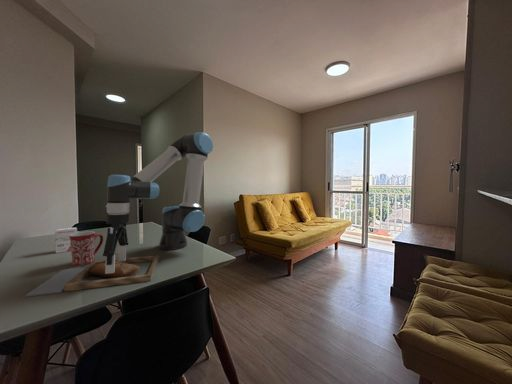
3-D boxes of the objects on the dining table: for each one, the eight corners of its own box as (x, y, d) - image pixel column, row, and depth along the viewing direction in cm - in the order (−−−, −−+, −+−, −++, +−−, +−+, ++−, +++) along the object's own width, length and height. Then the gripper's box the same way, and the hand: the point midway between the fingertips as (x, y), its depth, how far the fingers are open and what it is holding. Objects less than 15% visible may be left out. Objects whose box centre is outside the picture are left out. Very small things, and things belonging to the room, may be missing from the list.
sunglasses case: (142, 265, 82) (131, 260, 77) (133, 284, 78) (120, 279, 73) (108, 260, 87) (95, 255, 82) (97, 278, 83) (83, 273, 78)
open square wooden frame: (159, 259, 98) (159, 255, 98) (150, 280, 76) (150, 275, 76) (94, 265, 90) (94, 261, 90) (63, 291, 68) (63, 285, 68)
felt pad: (89, 268, 86) (89, 267, 86) (61, 292, 67) (61, 290, 67) (62, 271, 83) (62, 269, 83) (25, 296, 64) (25, 295, 64)
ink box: (77, 247, 114) (76, 226, 114) (77, 249, 111) (77, 228, 110) (55, 251, 108) (55, 229, 108) (55, 253, 105) (54, 230, 104)
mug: (75, 268, 86) (74, 236, 86) (65, 264, 91) (65, 234, 90) (108, 258, 98) (107, 231, 97) (98, 255, 102) (98, 229, 101)
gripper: (117, 210, 92) (116, 257, 92) (92, 217, 68) (90, 280, 68) (136, 210, 95) (134, 256, 94) (118, 217, 71) (116, 278, 70)
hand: (116, 266), depth 81 cm, fingers open, 13 cm apart
